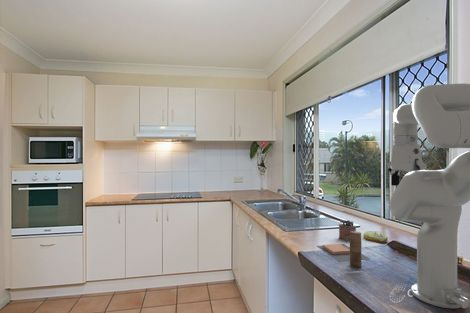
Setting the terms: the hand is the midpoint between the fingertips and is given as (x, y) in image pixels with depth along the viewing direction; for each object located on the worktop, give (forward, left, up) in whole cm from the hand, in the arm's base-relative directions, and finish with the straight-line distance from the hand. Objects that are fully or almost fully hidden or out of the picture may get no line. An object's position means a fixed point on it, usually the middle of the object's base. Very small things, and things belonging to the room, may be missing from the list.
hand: (405, 186), depth 101 cm
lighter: (+34, +2, -31) cm, 46 cm away
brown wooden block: (+4, +18, -30) cm, 35 cm away
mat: (+18, +15, -30) cm, 38 cm away
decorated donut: (+32, -12, -31) cm, 46 cm away
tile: (+20, +12, -29) cm, 37 cm away
